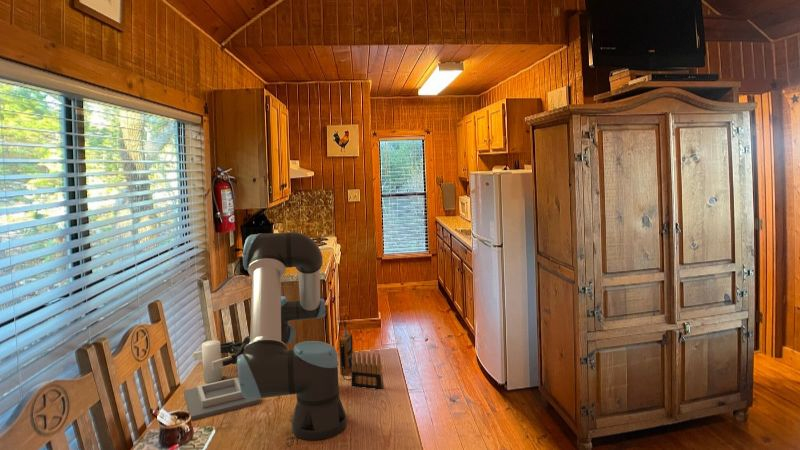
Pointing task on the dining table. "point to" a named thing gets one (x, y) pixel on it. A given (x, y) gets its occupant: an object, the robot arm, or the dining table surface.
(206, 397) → the socket block
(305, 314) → the robot arm
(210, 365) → the plug
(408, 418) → the dining table surface
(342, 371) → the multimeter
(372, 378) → the ammunition clip
